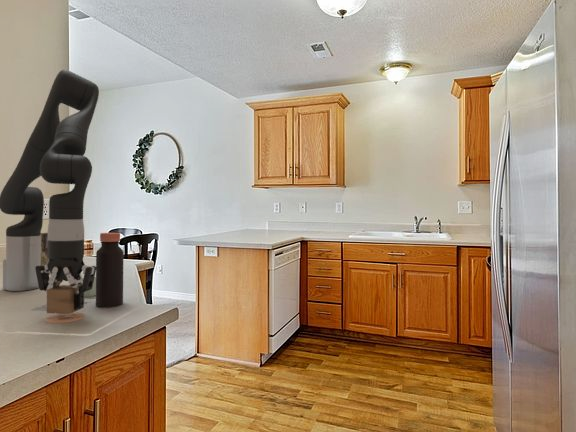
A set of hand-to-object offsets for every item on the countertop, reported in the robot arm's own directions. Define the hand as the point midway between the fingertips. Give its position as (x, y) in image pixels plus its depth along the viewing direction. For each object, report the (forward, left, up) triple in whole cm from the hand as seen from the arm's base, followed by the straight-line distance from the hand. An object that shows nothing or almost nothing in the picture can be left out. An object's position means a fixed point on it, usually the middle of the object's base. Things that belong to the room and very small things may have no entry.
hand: (65, 308), depth 89 cm
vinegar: (+4, +13, -3) cm, 14 cm away
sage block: (-9, +23, -2) cm, 25 cm away
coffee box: (-47, +60, -3) cm, 76 cm away
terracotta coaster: (0, 0, -3) cm, 3 cm away
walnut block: (0, 0, 0) cm, 0 cm away
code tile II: (-9, +23, -3) cm, 25 cm away
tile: (-8, +10, -3) cm, 13 cm away
